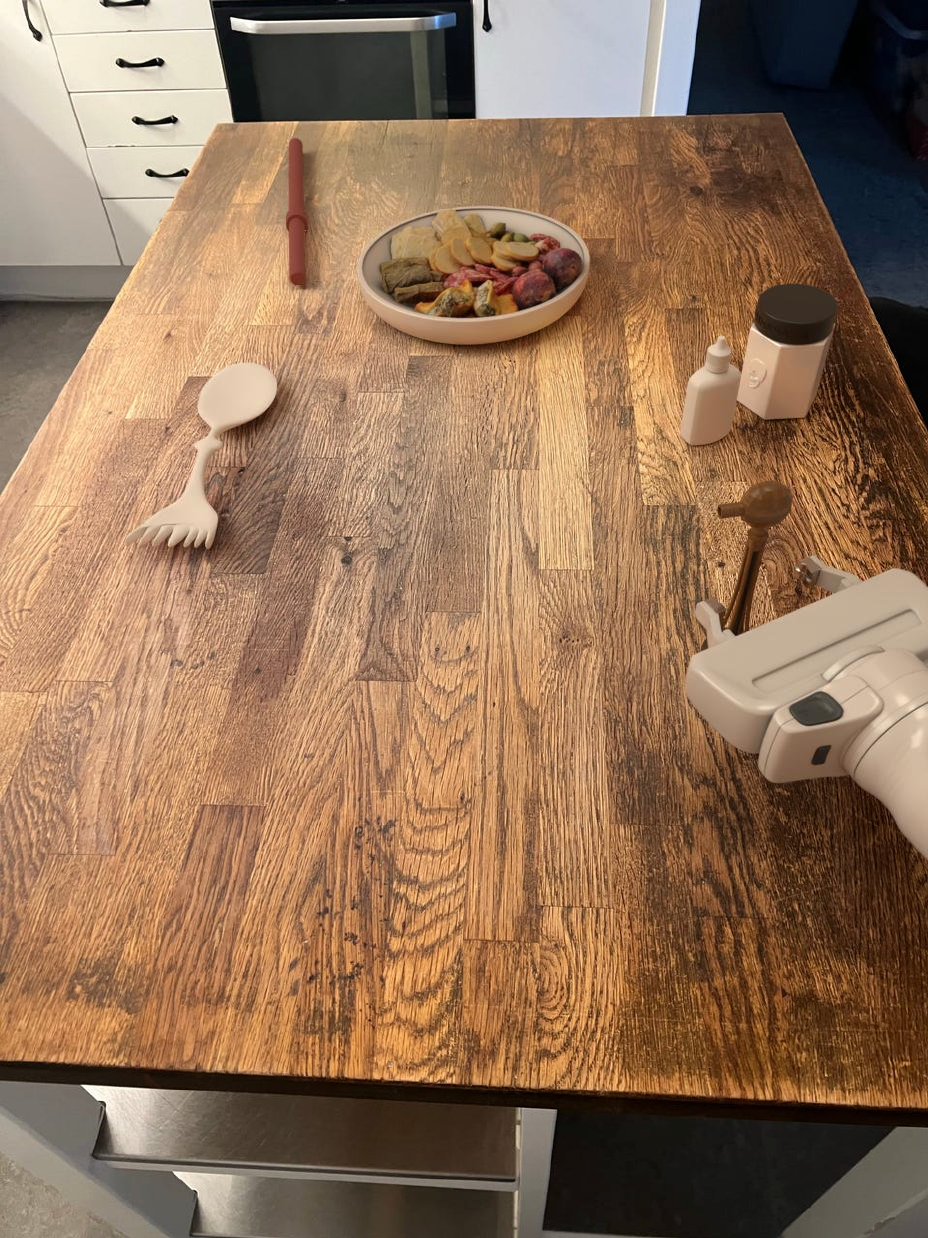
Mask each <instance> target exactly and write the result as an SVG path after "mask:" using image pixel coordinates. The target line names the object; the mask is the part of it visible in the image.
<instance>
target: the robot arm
mask: <svg viewBox="0 0 928 1238" xmlns="http://www.w3.org/2000/svg"><path fill="white" fill-rule="evenodd" d="M793 574H794V577H795V578H796V579H797V580H798V581H801V584H802V585H803V586H804V587H805V588H806V589H810V588H813V587H815V586H816V587H818V588H820V589H822V590H824V591H827V592H830V593H832V594H830V595H828V596H826V597H823V598H821V599H818V600H815V601H813V602H812V603H809V604H807V605H804V606H803V607H800V608H798V609H796V610H793V611H791V612H789V613H786V614H784V615H782V616H779V617H777V618H775V619H773V620H770V621H768V622H765V623H763V624H761V625H759V626H757V627H754V628H751V629H749V631H747V632H745V633H743V634H740V635H738V636H735V635H734V634H733V633H732V632H731V631H730V630H729V629H726V630H724V631H723V632H722V631H721V625H723V623H724V617H725V615H726V612H727V610H728V608H726V607H725V605H724V604H723V603H721V602H719V599H718V598H717V597H716V596H711V597H709V598H707V599H705V600H701V601H699V602H697V603H696V606H695V610H694V615H695V618H696V620H697V621H698V622H699V624H700V625H701V626H702V627H703V628H704V629H705V630H706V639H707V641H708V649H706V650H703V651H701V650H700V651H701V652H700V651H699V652H695V654H693V655H692V656H691V657H690V659H689V662H688V666H687V670H686V673H685V681H684V691H685V692H684V693H685V695H686V698H687V699H688V700H689V702H690V703H691V704H692V706H693V707H694V708H695V710H696V711H698V713H699V714H700V715H701V716H702V718H703V719H704V720H705V721H706V722H707V723H708V724H709V725H710V727H712V728H713V729H714V730H715V731H716V732H717V733H718V734H719V735H720V736H721V737H722V738H723V739H724V740H725V741H727V742H728V743H729V744H730V745H731V746H733V747H734V748H735V749H737V750H739V751H741V752H745V753H748V754H751V755H752V754H753V755H758V761H757V768H758V770H759V771H760V773H761V774H762V776H763V777H764V778H765V779H766V780H768V781H769V782H770V783H773V784H784V783H792V782H797V781H804V780H805V781H806V780H811V779H820V778H831V777H846V776H849V777H850V778H851V779H852V780H853V781H854V782H855V783H856V784H857V785H858V786H859V787H860V788H861V789H862V790H863V791H865V792H867V793H868V794H870V795H872V796H873V797H875V798H876V799H877V800H878V801H879V802H881V803H882V804H883V805H884V807H885V808H886V809H887V810H888V812H889V814H891V816H892V818H893V820H894V821H895V825H897V828H898V829H899V831H900V833H901V834H902V835H903V836H904V837H905V838H906V839H907V841H908V842H909V843H910V844H911V845H912V846H913V848H914V849H915V850H917V851H918V852H919V854H920V855H921V856H922V857H923V858H924V859H925V860H926V861H927V862H928V586H927V584H926V583H924V582H923V580H921V579H920V577H918V576H917V574H915V573H913V572H912V571H909V570H905V569H902V568H899V567H892V568H889V569H888V570H885V571H883V572H880V573H878V574H876V575H873V576H871V577H869V578H867V579H864V580H861V579H860V578H859V577H858V576H857V575H855V574H854V573H851V572H850V571H849V572H848V571H845V570H841V569H839V568H836V567H832V566H827V565H826V564H825V563H824V562H823V561H822V560H821V559H820V558H818V557H817V556H816V555H815V554H812V555H810V556H807V557H804V558H801V559H800V560H797V561H796V563H795V568H794V570H793Z"/></svg>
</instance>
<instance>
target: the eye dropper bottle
mask: <svg viewBox="0 0 928 1238" xmlns="http://www.w3.org/2000/svg"><path fill="white" fill-rule="evenodd" d="M726 341H727V340H726V336H724V335H719V336H718V337H717V340H716V342H715V343H712V344H711V345H709V346H708V347H707V350H706V355H705V362H704V366H701V367H700V368H699V369H697V370H696V371H695V372H694V373H692V375H691V376H690V377H689V378H688V382H687V386H686V392H685V397H684V404H683V409H682V410H683V411H682V418H681V424H680V431H679V436H680V437H681V439H682V440H684V441H685V442H686V444H687V445H690V446H703V445H705V446H706V445H710V444H713V443H715V442H716V443H717V442H718V441H720V440H722V439H724V438H725V437H727V435H728V434H730V432H731V430H732V427H733V422H734V417H735V411H736V406H737V402H738V401H737V397H738V391H739V386H740V380H741V371H740V370H739V369H738V368H737V367H736V366H734V365H733V364H732V363H730V362H731V359H732V354H733V353H732V351H733V350H732V348H731V347H730V346H729V345H727V343H726Z"/></svg>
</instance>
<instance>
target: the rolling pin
mask: <svg viewBox="0 0 928 1238" xmlns="http://www.w3.org/2000/svg"><path fill="white" fill-rule="evenodd" d="M303 147H304V146H303V142H302V140H301V139H299V138H298V137H293V138H291V139H290V140H289V143H288V211H287V212H286V215H285V227H286V230H287V231H288V279H289V282H290V283H291V285H293V284H294V285H293V286H296V285H301V286H303V285H304V284H305V283H307V282H306V281H307V259H306V258H307V255H306V232H305V230H307V231H308V228H309V219H308V214H307V212H306V211H305V186H304V184H305V181H304V180H305V179H304V148H303ZM302 284H303V285H302Z"/></svg>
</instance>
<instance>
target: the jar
mask: <svg viewBox="0 0 928 1238" xmlns="http://www.w3.org/2000/svg"><path fill="white" fill-rule="evenodd" d="M756 303H757V304H756V305H755V309H754V317H753V322H752V324H751V326H750V328H749V332H748V338H747V342H746V343H747V344H746V348H745V353H744V359H743V362H742V363H743V364H742V369H741V372H740V374H741V380H740V386H739V391H738V397H737V402H738V403H740V404H741V405H742V406H744V407H746V408H747V409H748V410H750V411H751V412H753V413H754V414H756V415H757V416H758V417H760V418H761V419H762V420H765V421H766V420H786V419H787V420H789V419H804V418H806V417H807V415H808V412H809V410H810V408H811V407H812V404H814V403H813V402H814V401H815V398H816V396H817V393H818V390H819V387H820V382H821V379H822V375H823V372H824V368H825V364H826V360H827V357H828V353H829V349H830V345H831V341H832V337H833V334H834V331H835V327H836V319H837V315H838V311H839V304H838V302H837V300H836V299H835V297H834V296H833V295H832V294H831V293H829V292H828V291H826V290H824V289H822V288H819V287H817V286H813V285H809V284H804V283H782V284H777V285H773V286H770V287H768V288H767V289H765V290H764V291H763V292H761V294H760V295H759V297H758V299H757V302H756Z"/></svg>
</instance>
